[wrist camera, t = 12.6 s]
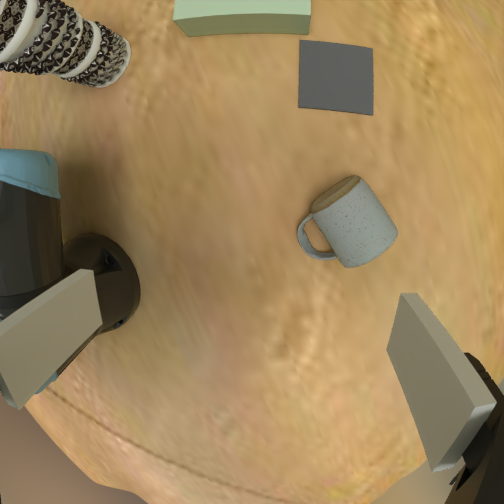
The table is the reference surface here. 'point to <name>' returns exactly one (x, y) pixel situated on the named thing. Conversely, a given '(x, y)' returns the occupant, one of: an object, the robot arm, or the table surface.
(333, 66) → the mat
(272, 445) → the table surface
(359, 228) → the ceramic mug
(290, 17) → the socket block
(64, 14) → the decorative candle
